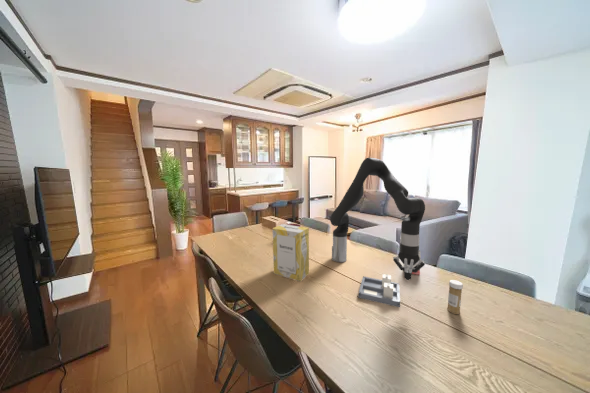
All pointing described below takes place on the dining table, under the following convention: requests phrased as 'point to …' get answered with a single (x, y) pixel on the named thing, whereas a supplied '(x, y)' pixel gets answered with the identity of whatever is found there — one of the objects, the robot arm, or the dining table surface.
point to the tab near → (388, 290)
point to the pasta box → (291, 251)
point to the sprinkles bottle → (454, 296)
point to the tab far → (386, 279)
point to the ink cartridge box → (414, 266)
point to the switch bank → (378, 291)
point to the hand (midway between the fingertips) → (407, 279)
